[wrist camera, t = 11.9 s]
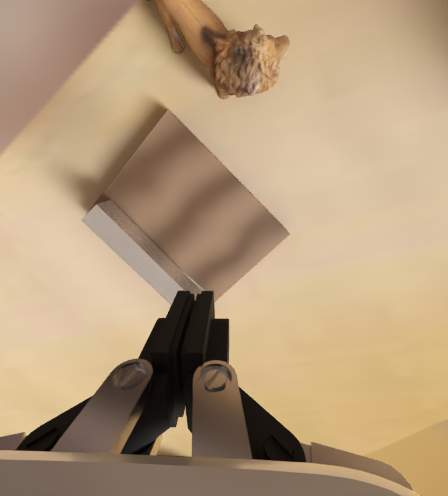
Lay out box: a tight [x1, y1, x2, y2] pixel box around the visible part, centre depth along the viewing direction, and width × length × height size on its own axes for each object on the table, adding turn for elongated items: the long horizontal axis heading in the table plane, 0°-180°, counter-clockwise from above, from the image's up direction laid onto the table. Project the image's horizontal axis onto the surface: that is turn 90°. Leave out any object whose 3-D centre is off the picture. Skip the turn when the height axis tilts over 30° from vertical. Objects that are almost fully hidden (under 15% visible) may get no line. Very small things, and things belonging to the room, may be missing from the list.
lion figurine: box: [155, 0, 290, 99], centre depth 20 cm, size 15×5×9 cm, turn 55°
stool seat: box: [86, 110, 290, 302], centre depth 29 cm, size 18×15×2 cm
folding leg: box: [82, 200, 202, 305], centre depth 27 cm, size 16×2×3 cm, turn 41°
